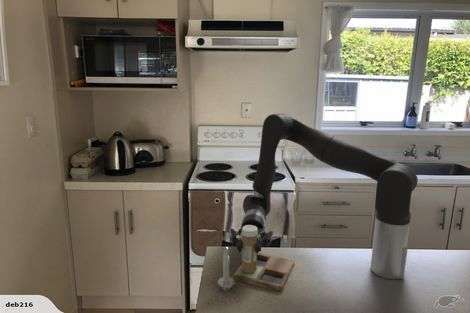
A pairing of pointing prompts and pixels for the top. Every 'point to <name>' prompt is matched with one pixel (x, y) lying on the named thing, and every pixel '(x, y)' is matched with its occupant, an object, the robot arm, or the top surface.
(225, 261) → the screw
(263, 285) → the board
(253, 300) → the top surface
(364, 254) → the top surface
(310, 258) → the top surface
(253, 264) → the sprinkles bottle
